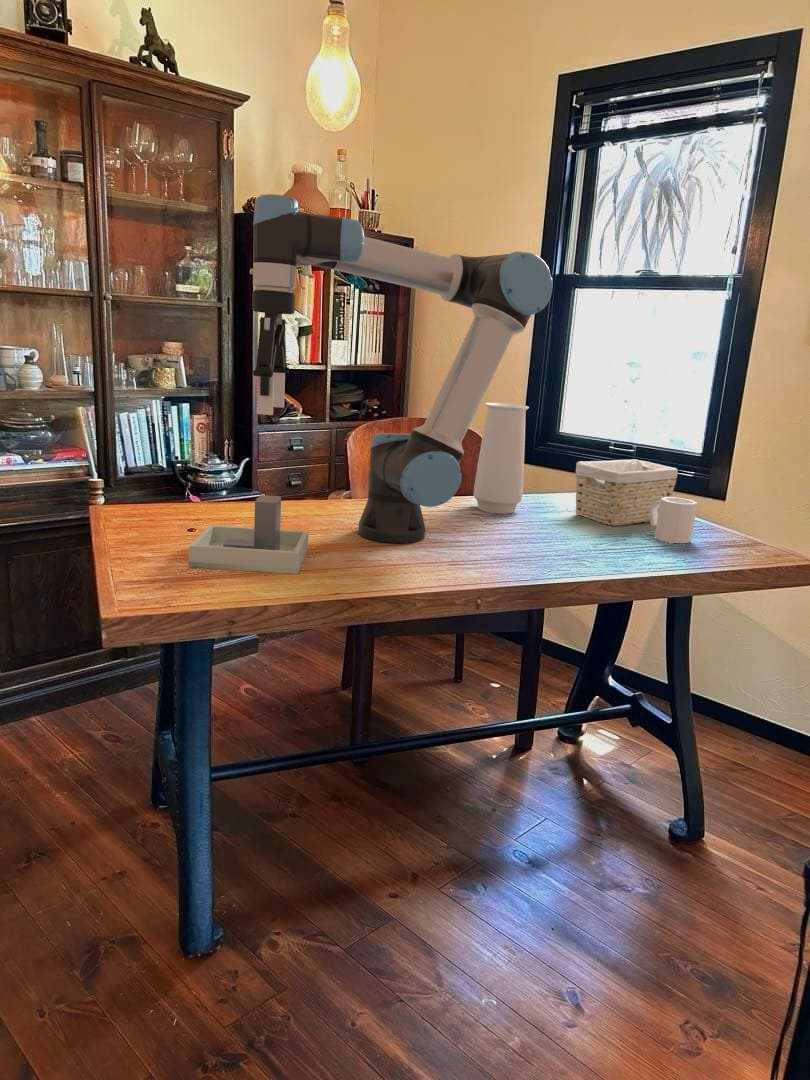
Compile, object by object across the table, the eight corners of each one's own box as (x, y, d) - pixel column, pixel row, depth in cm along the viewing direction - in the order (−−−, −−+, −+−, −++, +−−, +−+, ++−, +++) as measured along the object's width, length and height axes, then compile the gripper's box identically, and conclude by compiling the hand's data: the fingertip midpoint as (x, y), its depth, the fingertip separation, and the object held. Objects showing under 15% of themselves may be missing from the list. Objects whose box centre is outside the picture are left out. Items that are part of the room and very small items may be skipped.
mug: (697, 542, 188) (704, 503, 185) (674, 545, 183) (681, 505, 181) (658, 530, 197) (664, 492, 195) (635, 533, 193) (641, 494, 190)
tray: (307, 550, 157) (308, 531, 156) (297, 574, 142) (298, 553, 141) (209, 543, 157) (209, 524, 156) (188, 567, 141) (188, 546, 140)
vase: (473, 502, 215) (483, 401, 207) (520, 507, 213) (531, 405, 206) (470, 512, 202) (481, 405, 195) (520, 517, 201) (532, 409, 193)
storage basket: (611, 528, 196) (619, 471, 192) (566, 514, 209) (573, 460, 205) (673, 522, 209) (681, 468, 205) (627, 508, 222) (635, 458, 218)
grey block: (279, 550, 152) (281, 496, 149) (274, 559, 146) (276, 503, 143) (228, 547, 152) (229, 492, 149) (222, 555, 146) (222, 499, 143)
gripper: (264, 292, 148) (262, 403, 154) (238, 284, 124) (237, 416, 130) (303, 294, 149) (299, 405, 154) (285, 287, 125) (281, 419, 130)
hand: (271, 410), depth 142 cm, fingers open, 13 cm apart
